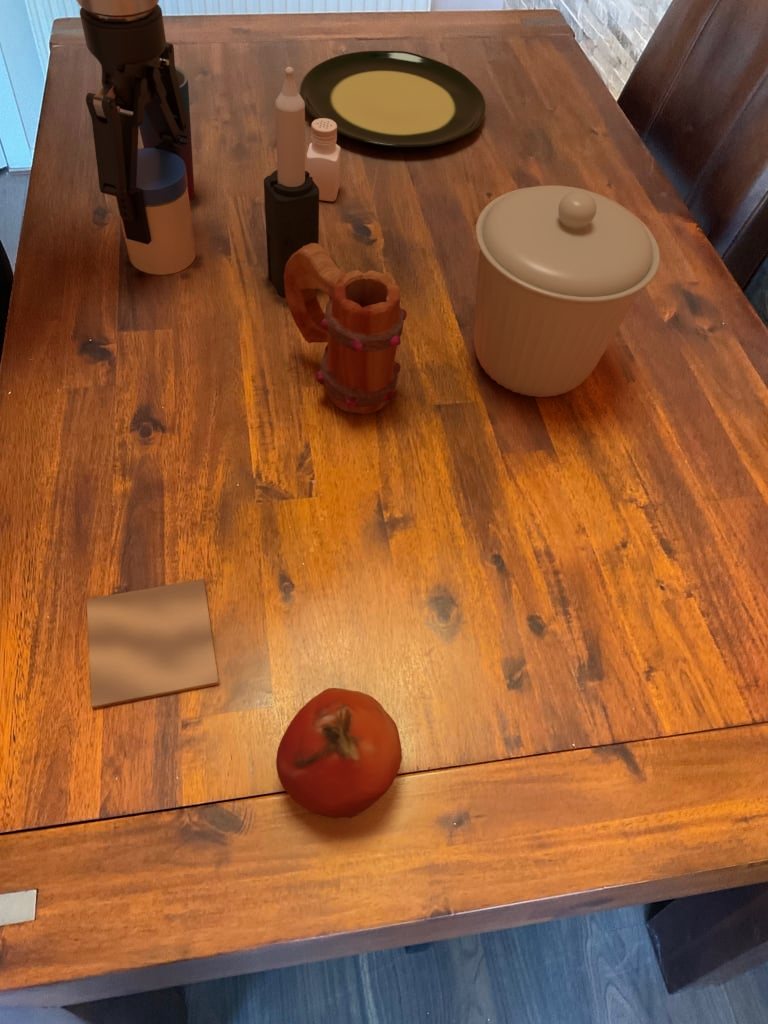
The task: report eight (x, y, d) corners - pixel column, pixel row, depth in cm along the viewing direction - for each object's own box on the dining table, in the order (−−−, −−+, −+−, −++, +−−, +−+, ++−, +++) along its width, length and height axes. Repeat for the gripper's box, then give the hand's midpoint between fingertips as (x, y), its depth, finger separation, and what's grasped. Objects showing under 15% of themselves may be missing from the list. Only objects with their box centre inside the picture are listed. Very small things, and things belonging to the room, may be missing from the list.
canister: (428, 324, 94) (455, 154, 77) (564, 300, 98) (618, 134, 81) (489, 436, 84) (536, 270, 67) (637, 404, 89) (716, 241, 72)
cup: (192, 213, 103) (177, 96, 90) (140, 205, 103) (118, 86, 91) (207, 184, 107) (195, 68, 94) (157, 176, 107) (138, 59, 95)
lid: (166, 212, 87) (164, 197, 85) (98, 194, 88) (94, 178, 86) (199, 174, 92) (198, 158, 90) (134, 156, 93) (132, 141, 91)
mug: (415, 399, 86) (433, 286, 74) (364, 439, 82) (374, 326, 70) (318, 332, 91) (320, 215, 79) (266, 366, 88) (259, 250, 75)
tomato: (400, 718, 65) (410, 677, 59) (393, 836, 60) (404, 805, 53) (286, 707, 65) (284, 665, 58) (270, 825, 60) (265, 792, 53)
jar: (114, 260, 96) (96, 178, 87) (155, 226, 100) (141, 146, 92) (170, 283, 94) (156, 202, 86) (209, 248, 99) (199, 168, 90)
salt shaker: (339, 187, 109) (342, 118, 101) (335, 203, 106) (338, 134, 99) (310, 183, 109) (310, 114, 101) (305, 200, 106) (305, 130, 99)
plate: (309, 57, 129) (309, 40, 127) (480, 74, 131) (482, 58, 128) (290, 150, 113) (290, 133, 111) (486, 170, 114) (489, 153, 112)
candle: (265, 274, 97) (254, 58, 76) (303, 264, 98) (303, 50, 78) (281, 299, 94) (274, 84, 74) (321, 289, 96) (325, 75, 76)
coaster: (87, 601, 69) (86, 598, 69) (204, 581, 71) (204, 578, 71) (92, 709, 64) (91, 706, 63) (219, 684, 66) (218, 681, 65)
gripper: (99, 62, 68) (143, 279, 87) (205, -28, 81) (224, 179, 99) (20, 43, 69) (81, 262, 88) (137, -44, 82) (169, 165, 100)
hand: (157, 218), depth 93 cm, fingers open, 8 cm apart
